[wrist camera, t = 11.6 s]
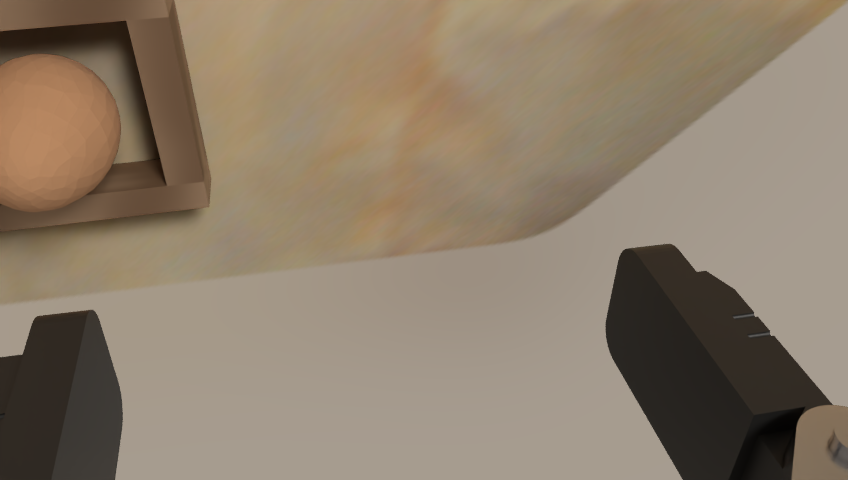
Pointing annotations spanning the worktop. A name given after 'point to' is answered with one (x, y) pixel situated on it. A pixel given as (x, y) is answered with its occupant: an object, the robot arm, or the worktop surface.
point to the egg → (53, 132)
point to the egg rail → (167, 104)
